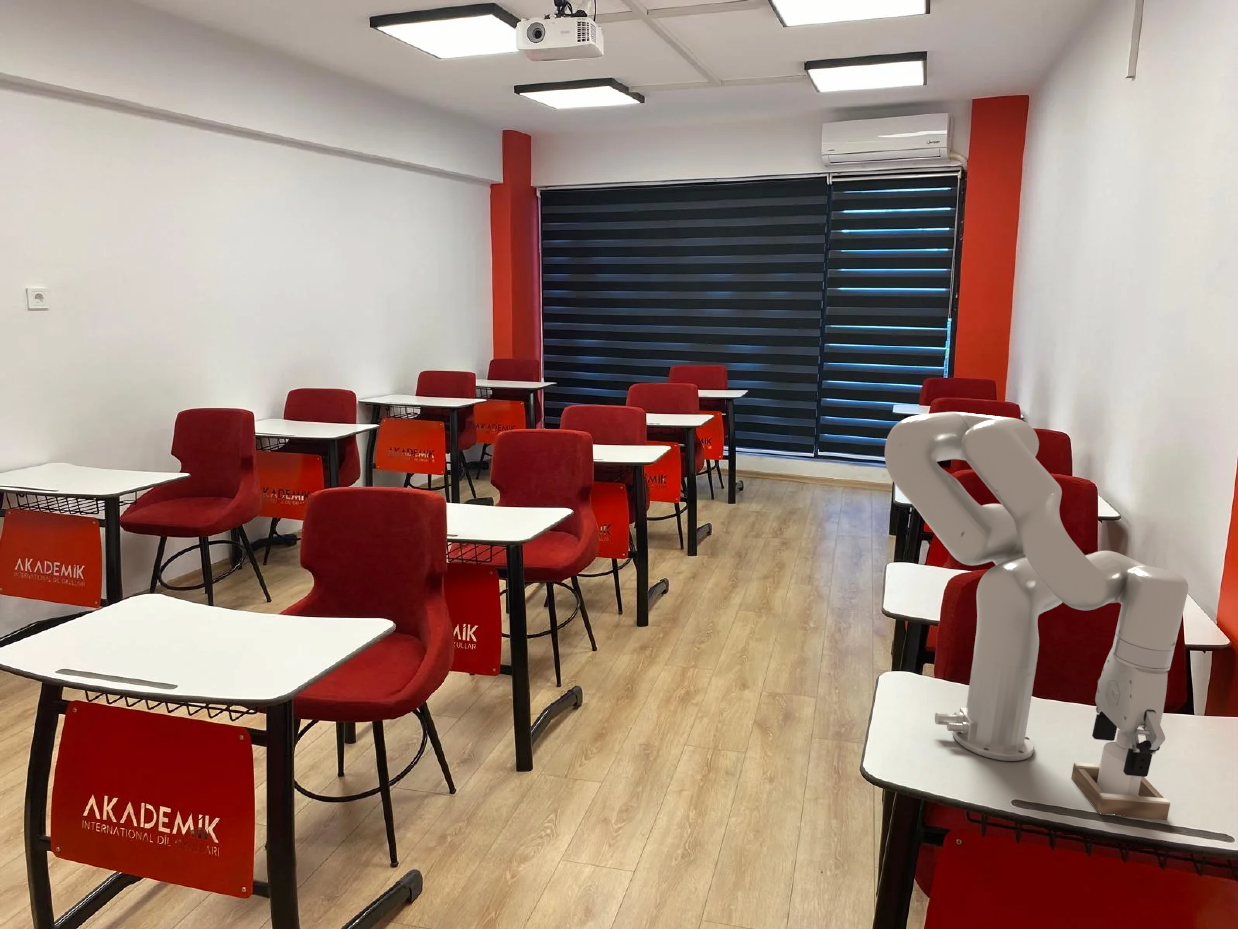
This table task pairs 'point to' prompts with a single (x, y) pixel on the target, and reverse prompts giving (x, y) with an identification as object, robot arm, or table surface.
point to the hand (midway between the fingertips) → (1118, 756)
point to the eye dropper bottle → (1117, 768)
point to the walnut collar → (1120, 796)
